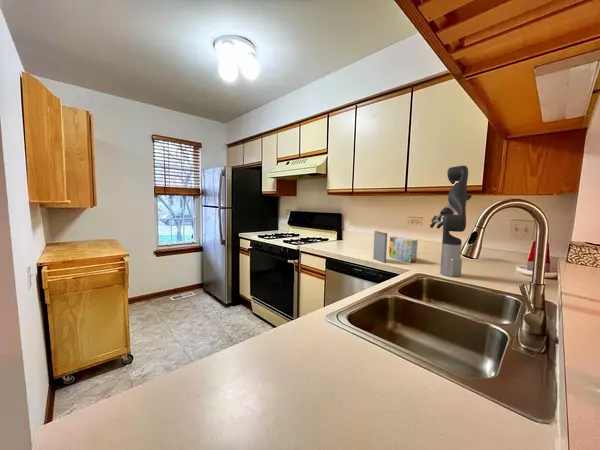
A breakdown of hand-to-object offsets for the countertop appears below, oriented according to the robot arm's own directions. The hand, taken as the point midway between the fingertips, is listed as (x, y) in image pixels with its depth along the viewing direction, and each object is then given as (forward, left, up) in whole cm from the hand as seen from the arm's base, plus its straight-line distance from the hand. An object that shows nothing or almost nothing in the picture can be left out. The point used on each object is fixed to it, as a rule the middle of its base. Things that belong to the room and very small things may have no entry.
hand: (434, 227), depth 184 cm
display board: (+2, +42, -22) cm, 48 cm away
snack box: (+2, +24, -23) cm, 33 cm away
